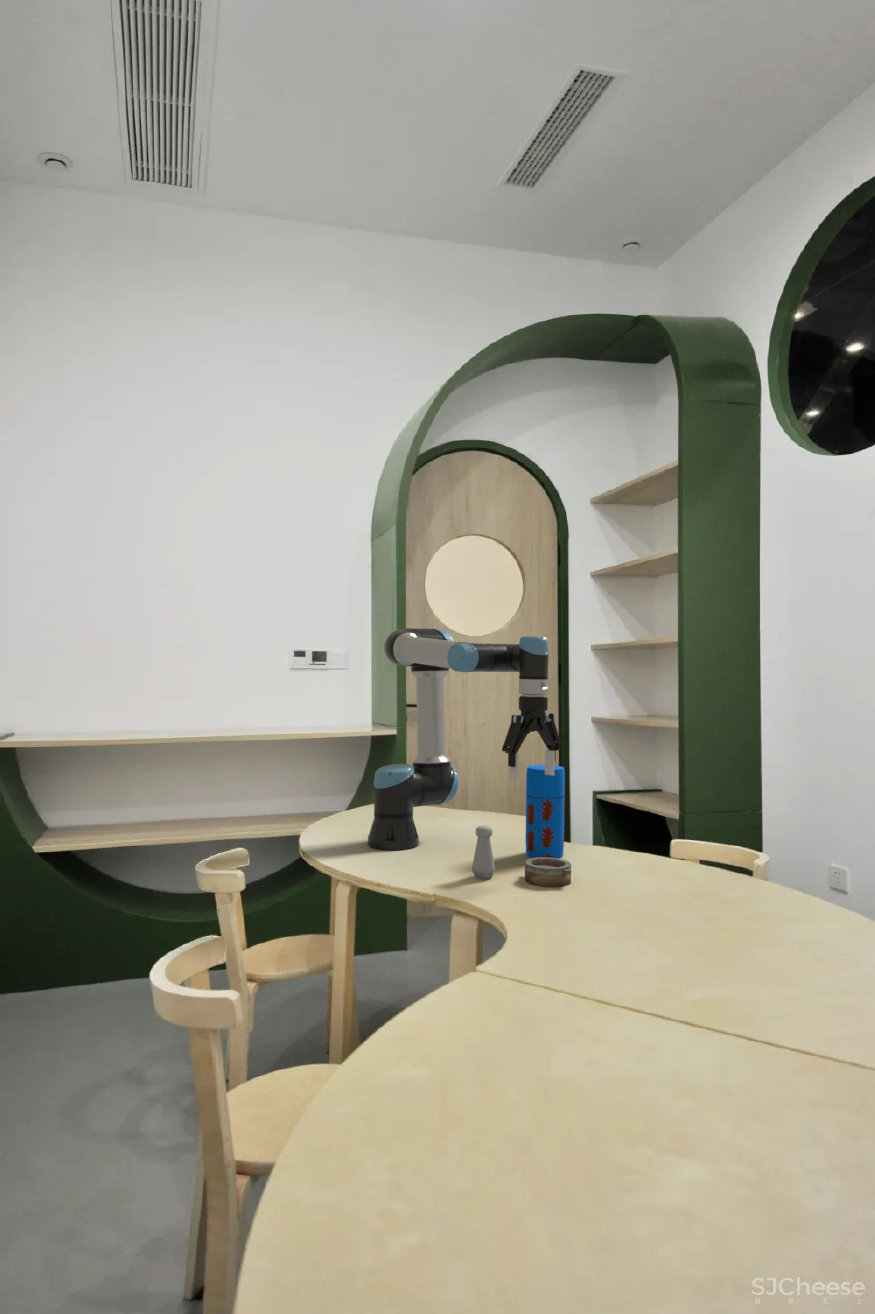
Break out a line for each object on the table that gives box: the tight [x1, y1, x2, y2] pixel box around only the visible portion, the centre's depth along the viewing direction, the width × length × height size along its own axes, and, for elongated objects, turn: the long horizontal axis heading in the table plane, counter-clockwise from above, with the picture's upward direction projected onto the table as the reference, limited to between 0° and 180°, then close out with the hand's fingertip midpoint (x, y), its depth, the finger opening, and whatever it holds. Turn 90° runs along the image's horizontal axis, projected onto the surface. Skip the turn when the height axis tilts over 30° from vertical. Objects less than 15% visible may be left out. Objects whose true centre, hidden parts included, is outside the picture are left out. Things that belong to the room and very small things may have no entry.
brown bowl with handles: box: [524, 857, 572, 888], centre depth 208 cm, size 14×12×4 cm
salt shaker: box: [471, 825, 496, 881], centre depth 210 cm, size 6×6×13 cm
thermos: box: [525, 764, 566, 859], centre depth 234 cm, size 11×11×25 cm
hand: (532, 777), depth 214 cm, fingers open, 13 cm apart
